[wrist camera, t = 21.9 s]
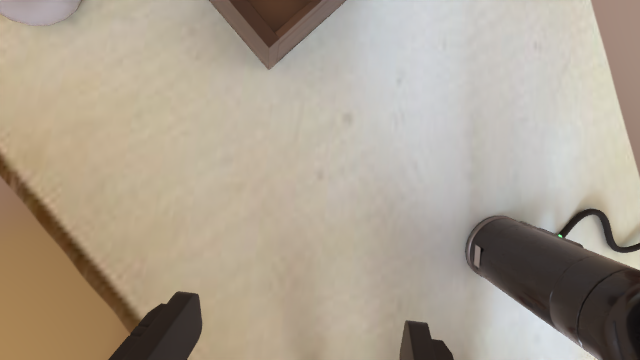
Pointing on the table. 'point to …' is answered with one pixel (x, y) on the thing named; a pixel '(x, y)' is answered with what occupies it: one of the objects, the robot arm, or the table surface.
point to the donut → (38, 10)
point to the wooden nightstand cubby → (274, 23)
